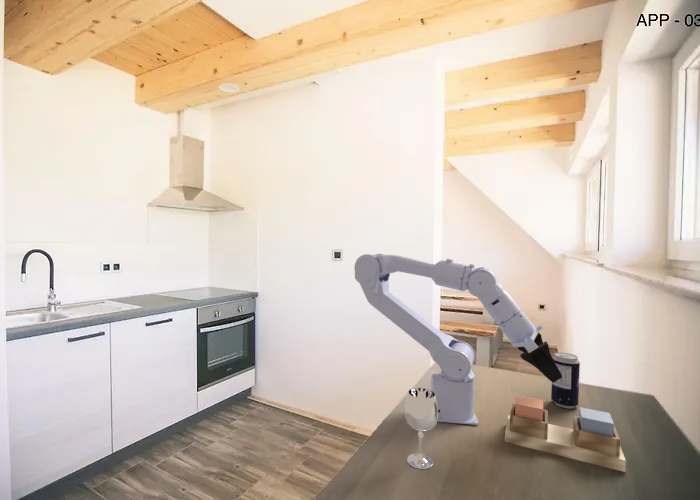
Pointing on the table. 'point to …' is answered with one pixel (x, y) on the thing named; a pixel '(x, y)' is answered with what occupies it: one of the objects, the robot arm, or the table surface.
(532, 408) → the terracotta key
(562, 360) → the beverage can
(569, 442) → the wooden socket board
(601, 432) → the slate key
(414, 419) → the wineglass
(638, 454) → the table surface
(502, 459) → the table surface
